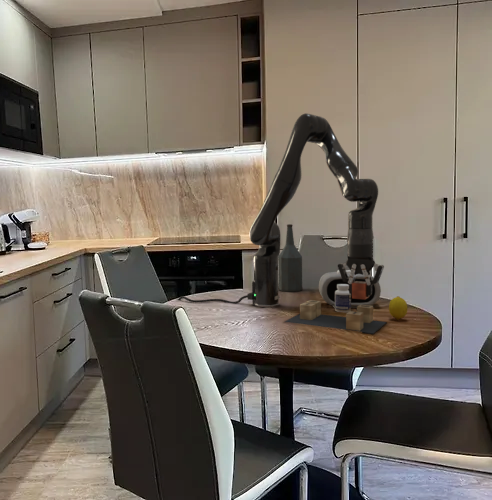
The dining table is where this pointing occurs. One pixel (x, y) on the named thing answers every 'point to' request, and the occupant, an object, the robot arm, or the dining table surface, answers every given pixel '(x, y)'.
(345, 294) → the pill bottle
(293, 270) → the bottle
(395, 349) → the dining table surface
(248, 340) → the dining table surface
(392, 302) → the lemon
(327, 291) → the alarm clock
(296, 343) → the dining table surface
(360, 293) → the red block
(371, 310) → the letter block row
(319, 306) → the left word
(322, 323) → the word mat
